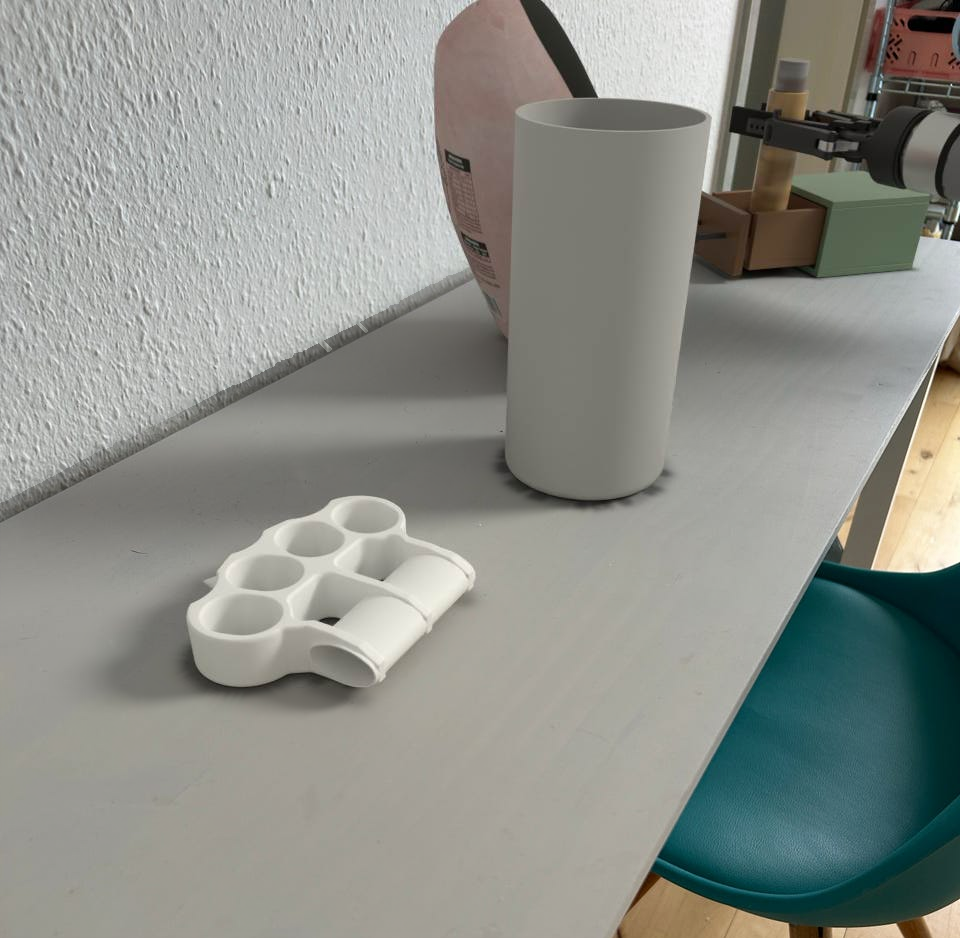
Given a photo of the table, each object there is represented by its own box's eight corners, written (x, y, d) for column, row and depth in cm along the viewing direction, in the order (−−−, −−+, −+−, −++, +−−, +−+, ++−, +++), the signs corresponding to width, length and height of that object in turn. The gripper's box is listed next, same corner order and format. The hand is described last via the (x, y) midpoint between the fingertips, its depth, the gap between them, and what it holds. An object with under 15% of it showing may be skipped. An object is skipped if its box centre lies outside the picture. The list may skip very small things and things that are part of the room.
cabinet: (816, 277, 119) (833, 201, 114) (758, 247, 129) (771, 176, 124) (911, 269, 122) (931, 194, 117) (847, 239, 133) (863, 170, 127)
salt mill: (792, 215, 118) (823, 62, 109) (760, 217, 117) (788, 62, 107) (773, 206, 121) (801, 56, 112) (741, 208, 120) (767, 57, 111)
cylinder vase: (694, 485, 76) (752, 123, 61) (552, 518, 71) (577, 137, 56) (609, 422, 85) (641, 93, 70) (478, 448, 80) (482, 104, 65)
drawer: (694, 279, 115) (703, 217, 111) (648, 250, 124) (655, 192, 120) (824, 268, 119) (837, 208, 115) (770, 240, 128) (780, 184, 124)
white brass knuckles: (345, 734, 53) (138, 653, 58) (498, 574, 65) (317, 520, 71) (340, 686, 51) (127, 607, 56) (499, 530, 63) (313, 478, 69)
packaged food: (671, 388, 91) (724, 2, 73) (464, 405, 87) (466, 4, 69) (595, 310, 108) (623, -18, 90) (419, 322, 104) (411, -18, 86)
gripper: (859, 201, 100) (691, 159, 115) (957, 180, 109) (788, 144, 123) (879, 118, 96) (701, 86, 110) (979, 103, 104) (801, 75, 119)
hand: (747, 117), depth 117 cm, fingers closed on salt mill, 4 cm apart
